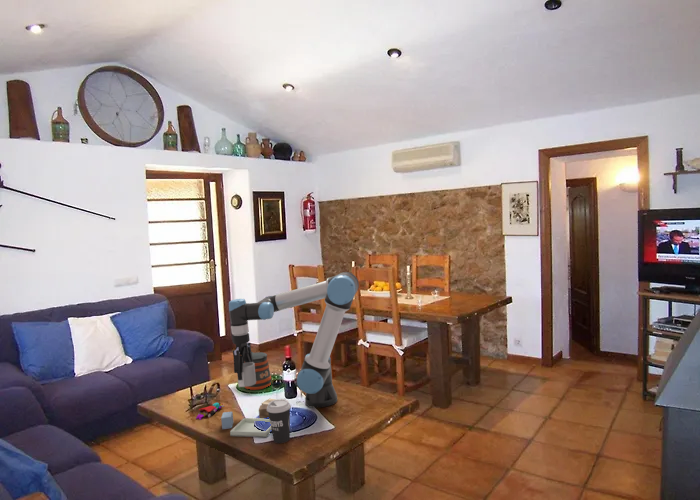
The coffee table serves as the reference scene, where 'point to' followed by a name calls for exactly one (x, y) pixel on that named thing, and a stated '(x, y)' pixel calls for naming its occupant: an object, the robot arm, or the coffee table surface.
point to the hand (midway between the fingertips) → (245, 383)
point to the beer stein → (260, 371)
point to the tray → (249, 428)
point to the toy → (209, 410)
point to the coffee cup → (279, 420)
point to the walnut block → (263, 411)
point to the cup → (249, 373)
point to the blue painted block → (227, 420)
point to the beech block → (267, 401)
